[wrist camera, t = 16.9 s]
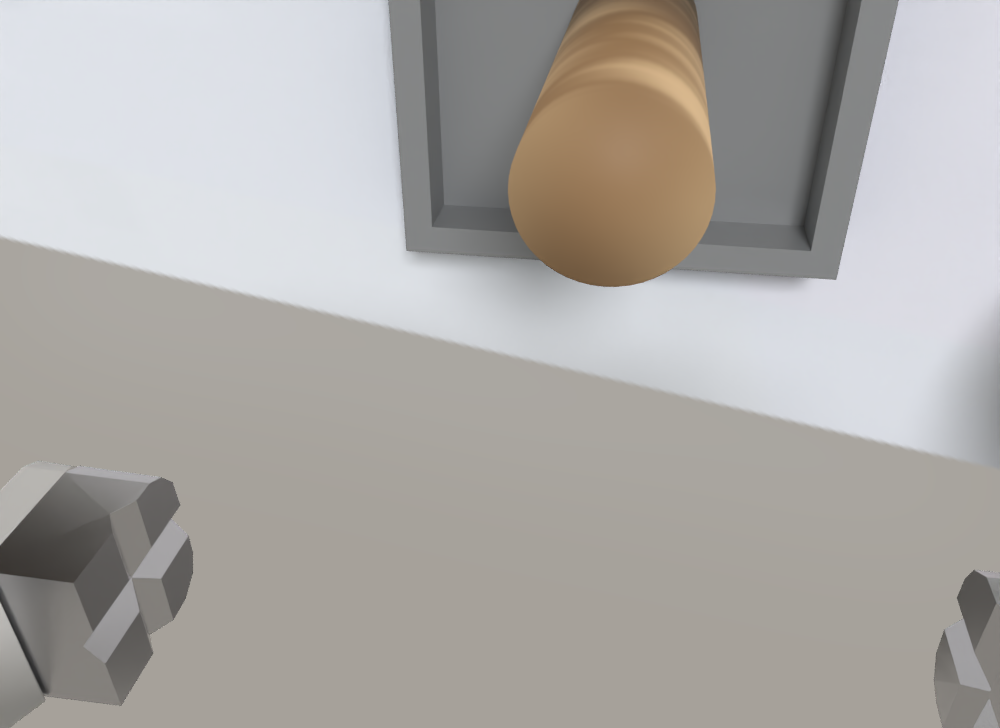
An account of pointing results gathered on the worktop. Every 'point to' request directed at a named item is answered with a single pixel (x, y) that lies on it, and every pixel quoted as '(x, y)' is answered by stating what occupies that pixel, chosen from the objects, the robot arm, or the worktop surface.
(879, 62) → the tray
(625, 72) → the dowel
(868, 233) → the worktop surface
